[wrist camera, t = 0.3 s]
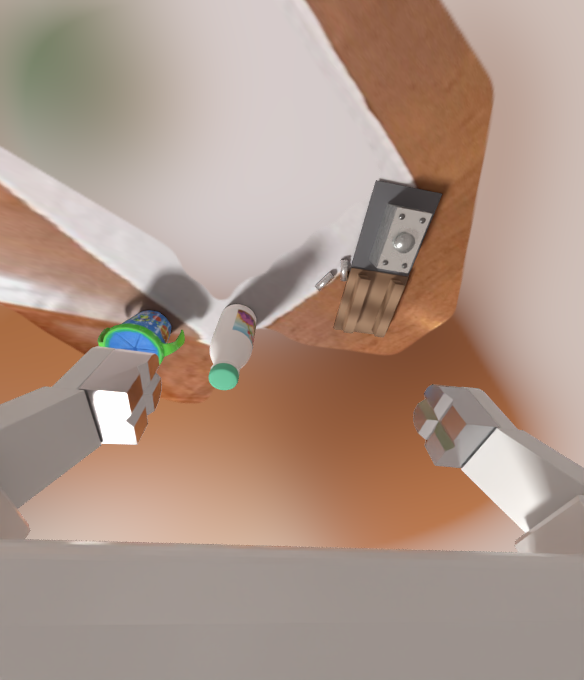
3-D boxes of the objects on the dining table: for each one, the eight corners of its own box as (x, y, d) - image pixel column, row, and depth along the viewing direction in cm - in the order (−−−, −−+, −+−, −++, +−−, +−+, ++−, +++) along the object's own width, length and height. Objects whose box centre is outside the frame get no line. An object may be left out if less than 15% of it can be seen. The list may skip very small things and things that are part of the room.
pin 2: (340, 259, 53) (342, 261, 52) (347, 258, 53) (349, 260, 52) (339, 279, 55) (341, 281, 54) (346, 278, 56) (348, 280, 54)
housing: (387, 203, 48) (400, 208, 43) (419, 209, 48) (435, 214, 43) (369, 259, 53) (378, 270, 48) (397, 264, 54) (410, 275, 49)
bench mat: (376, 180, 46) (376, 180, 46) (441, 193, 48) (442, 193, 47) (349, 271, 55) (349, 272, 54) (405, 280, 56) (406, 281, 56)
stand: (350, 266, 54) (354, 272, 51) (407, 275, 55) (414, 281, 53) (333, 327, 61) (335, 335, 59) (383, 333, 63) (388, 341, 60)
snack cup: (120, 340, 61) (94, 369, 53) (111, 297, 56) (80, 321, 47) (191, 348, 63) (178, 377, 54) (190, 307, 57) (174, 332, 49)
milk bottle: (226, 336, 62) (206, 401, 45) (216, 305, 57) (190, 364, 41) (259, 331, 61) (252, 395, 45) (252, 300, 57) (241, 357, 40)
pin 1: (332, 274, 55) (328, 270, 54) (335, 278, 54) (331, 275, 53) (317, 287, 57) (314, 284, 56) (320, 291, 56) (316, 288, 55)
